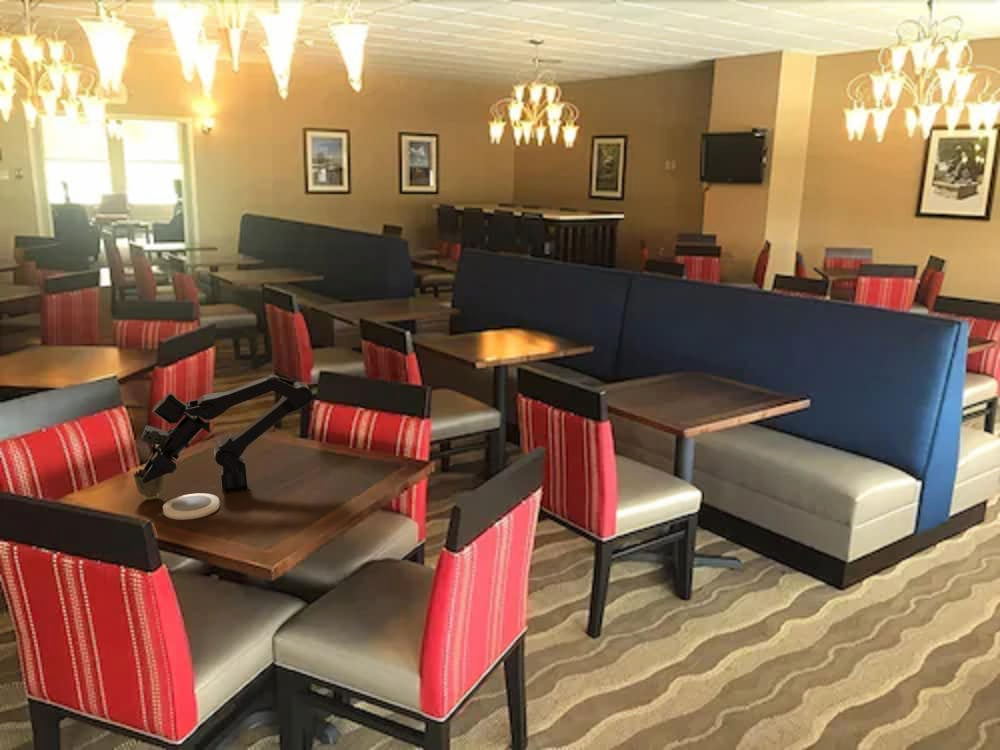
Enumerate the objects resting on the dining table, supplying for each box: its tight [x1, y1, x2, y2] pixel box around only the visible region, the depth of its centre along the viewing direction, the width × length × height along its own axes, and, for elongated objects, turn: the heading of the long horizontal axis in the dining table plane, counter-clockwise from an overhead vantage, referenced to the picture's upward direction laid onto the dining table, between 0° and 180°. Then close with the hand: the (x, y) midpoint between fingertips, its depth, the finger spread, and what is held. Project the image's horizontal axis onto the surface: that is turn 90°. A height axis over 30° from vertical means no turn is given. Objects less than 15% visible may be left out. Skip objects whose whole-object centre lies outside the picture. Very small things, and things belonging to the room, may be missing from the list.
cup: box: [133, 468, 164, 502], centre depth 220 cm, size 8×7×8 cm
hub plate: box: [162, 492, 220, 521], centre depth 214 cm, size 14×14×2 cm
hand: (143, 477), depth 219 cm, fingers closed on cup, 7 cm apart
